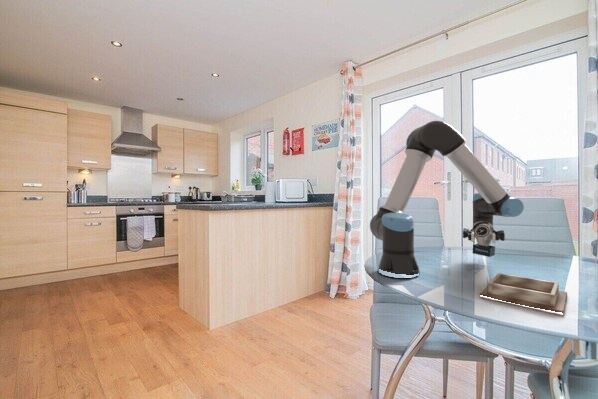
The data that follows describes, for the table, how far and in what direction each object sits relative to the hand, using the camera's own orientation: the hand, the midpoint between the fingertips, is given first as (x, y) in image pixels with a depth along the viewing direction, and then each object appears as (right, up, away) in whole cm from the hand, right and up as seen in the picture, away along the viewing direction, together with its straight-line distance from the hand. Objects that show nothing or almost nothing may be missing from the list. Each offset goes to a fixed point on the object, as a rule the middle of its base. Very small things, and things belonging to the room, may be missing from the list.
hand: (483, 238), depth 95 cm
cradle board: (+3, -15, -13) cm, 21 cm away
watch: (+3, -6, +4) cm, 8 cm away
